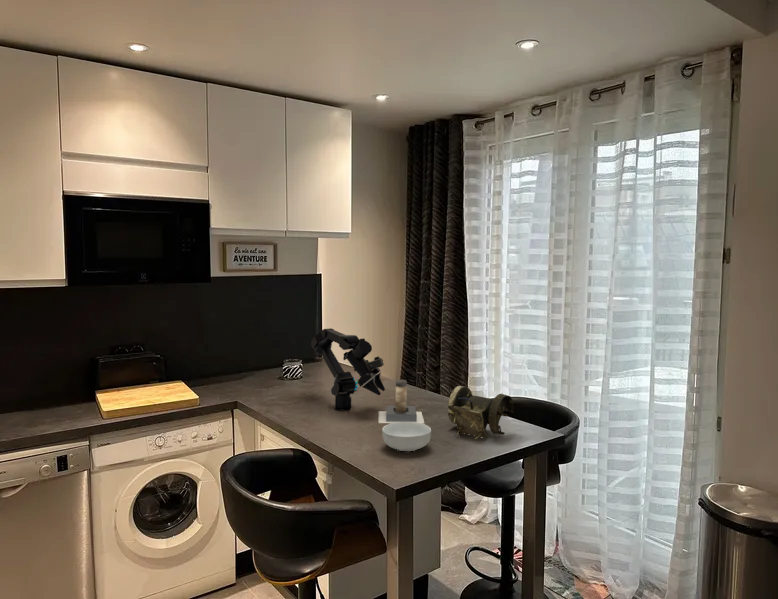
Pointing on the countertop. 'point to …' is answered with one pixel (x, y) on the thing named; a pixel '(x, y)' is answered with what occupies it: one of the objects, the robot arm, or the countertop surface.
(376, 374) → the robot arm
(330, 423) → the countertop surface
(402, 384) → the beige tall cylinder
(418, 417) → the board
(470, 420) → the bench grinder
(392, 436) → the cereal bowl
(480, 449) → the countertop surface
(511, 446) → the countertop surface
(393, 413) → the housing
